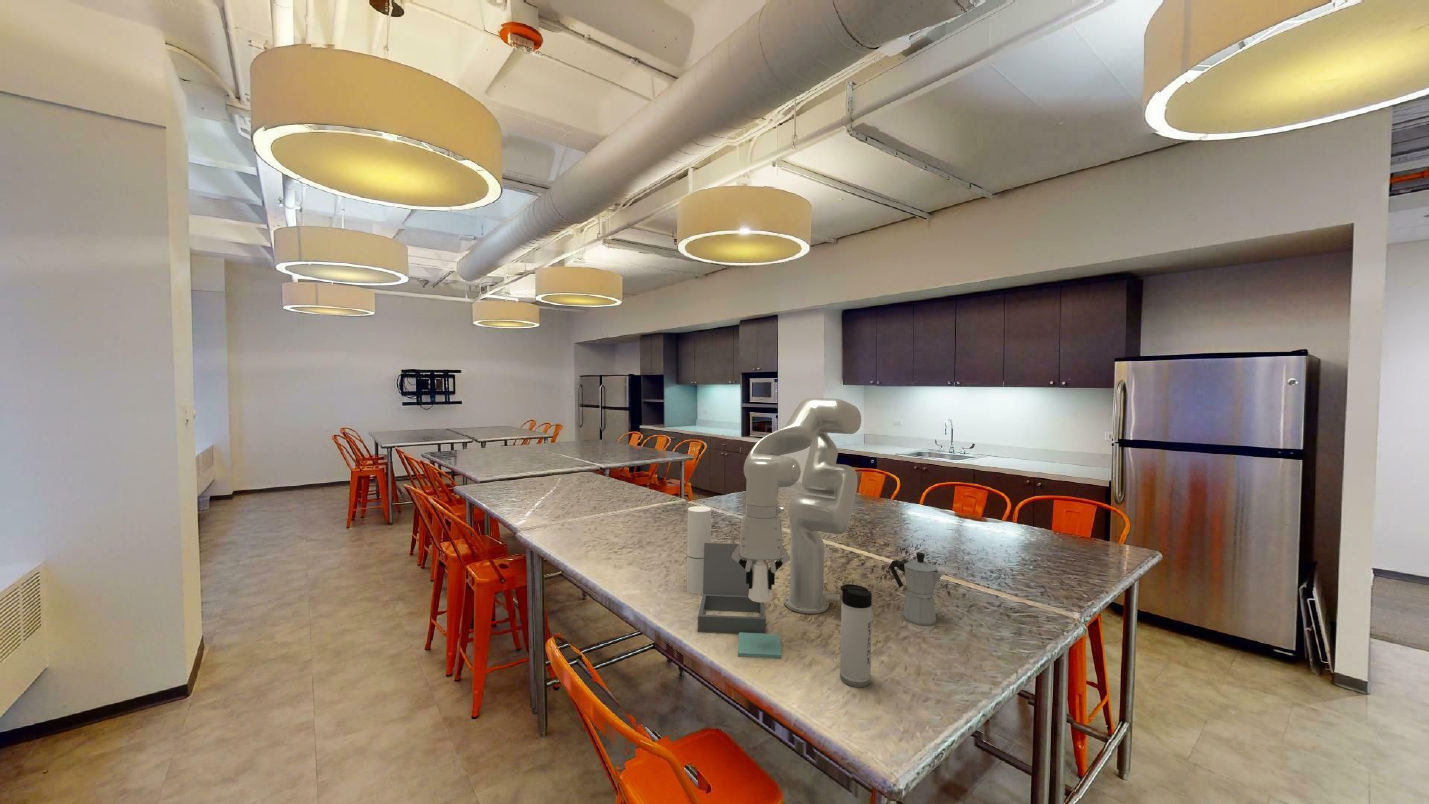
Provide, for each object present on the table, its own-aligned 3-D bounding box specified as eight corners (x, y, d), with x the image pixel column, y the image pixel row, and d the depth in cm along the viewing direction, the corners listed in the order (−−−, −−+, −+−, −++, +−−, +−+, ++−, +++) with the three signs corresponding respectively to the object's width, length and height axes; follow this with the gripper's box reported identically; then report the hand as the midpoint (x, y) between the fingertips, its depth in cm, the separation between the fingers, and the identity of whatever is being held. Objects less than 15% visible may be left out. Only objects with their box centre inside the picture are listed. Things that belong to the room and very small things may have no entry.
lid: (763, 596, 142) (763, 595, 143) (763, 544, 144) (763, 544, 145) (702, 594, 143) (703, 592, 144) (704, 542, 145) (704, 542, 146)
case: (763, 610, 142) (763, 596, 142) (764, 634, 128) (765, 619, 128) (702, 608, 143) (702, 594, 143) (697, 631, 129) (697, 616, 129)
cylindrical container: (711, 585, 159) (712, 506, 159) (708, 594, 152) (709, 512, 152) (688, 584, 160) (689, 505, 159) (685, 593, 153) (686, 511, 152)
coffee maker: (948, 620, 137) (950, 554, 137) (937, 631, 131) (938, 562, 130) (895, 604, 147) (896, 542, 147) (881, 613, 141) (883, 549, 140)
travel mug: (834, 671, 111) (836, 581, 111) (863, 670, 112) (865, 581, 112) (844, 688, 105) (846, 593, 105) (875, 687, 106) (877, 592, 105)
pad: (779, 637, 127) (779, 634, 127) (781, 658, 117) (781, 655, 117) (738, 635, 127) (739, 632, 127) (738, 656, 117) (738, 653, 117)
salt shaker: (743, 597, 122) (744, 552, 121) (758, 591, 125) (759, 547, 125) (760, 604, 118) (761, 557, 117) (775, 598, 121) (776, 552, 121)
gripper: (795, 508, 124) (793, 582, 125) (727, 506, 125) (725, 580, 126) (798, 516, 117) (796, 595, 117) (725, 513, 118) (724, 591, 118)
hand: (760, 586), depth 121 cm, fingers closed on salt shaker, 4 cm apart
